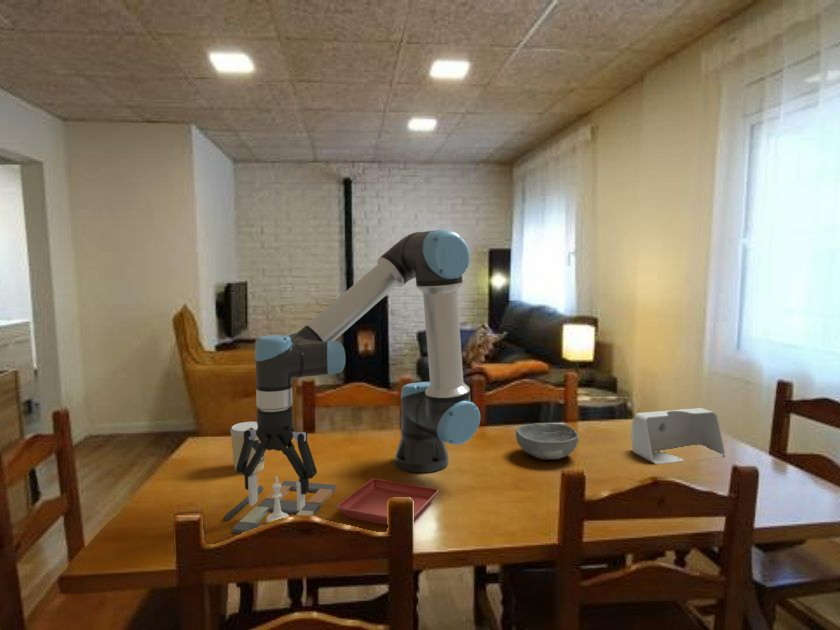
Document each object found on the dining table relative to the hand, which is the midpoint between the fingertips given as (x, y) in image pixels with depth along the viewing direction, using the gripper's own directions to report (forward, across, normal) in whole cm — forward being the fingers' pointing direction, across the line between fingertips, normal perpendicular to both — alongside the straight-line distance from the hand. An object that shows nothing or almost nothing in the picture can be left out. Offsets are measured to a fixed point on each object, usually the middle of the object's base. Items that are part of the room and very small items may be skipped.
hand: (277, 505), depth 120 cm
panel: (+3, 0, -6) cm, 7 cm away
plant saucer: (+4, -23, -10) cm, 25 cm away
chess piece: (+4, 0, 0) cm, 4 cm away
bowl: (+4, -60, -52) cm, 79 cm away
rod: (+3, +11, -6) cm, 13 cm away
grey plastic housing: (+4, -97, -64) cm, 116 cm away
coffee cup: (+4, +21, -27) cm, 34 cm away
